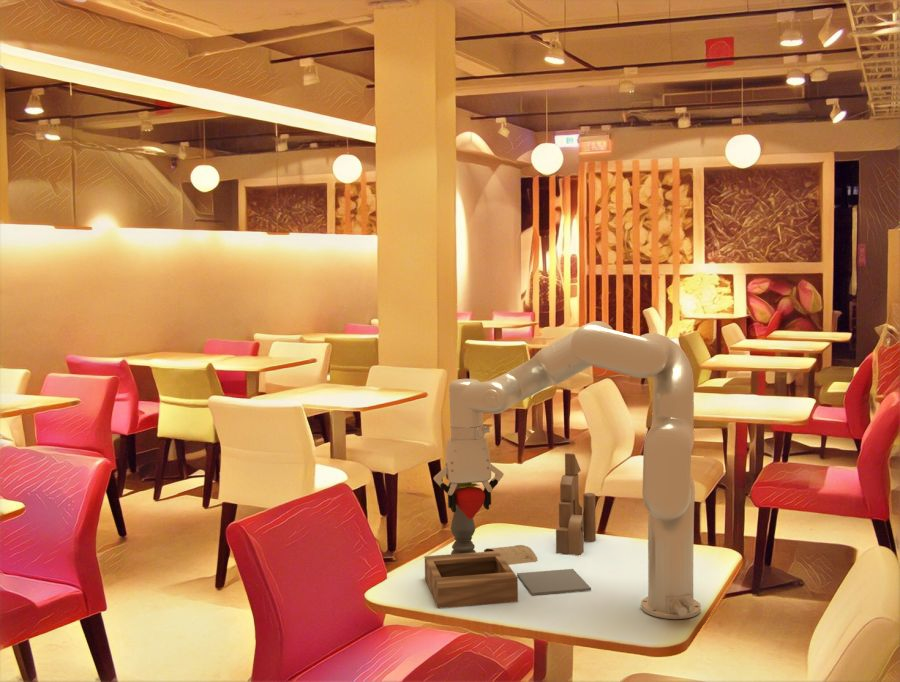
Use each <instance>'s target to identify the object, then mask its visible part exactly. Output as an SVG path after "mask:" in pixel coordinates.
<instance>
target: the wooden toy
mask: <svg viewBox="0 0 900 682" xmlns="http://www.w3.org/2000/svg"><path fill="white" fill-rule="evenodd" d="M581 471H582V470H581V467H580V464H579V462H578V459H577V457H576V454H575V453H571V452H570V453H569V452H567V453H565V454H564V474H563V475H562V476H561V479H560V484H559V487H560V489H559V491H560V493H559V494H560V497H559V499H560V502H558V527H557V528H556V529H555V553H556V554H558V553H562V554H561V555H570V554H575V555H574V556H579V555H580V556H581V555H582V554H583V553H584V552H585V551H584V548H585V547H584V544H585V543H584V541H585V542H586V541H587V542H588V543H594V542H595V541H596V539H597V538H596V536H597V533H596V528H597V527H596V524H597V523H596V518H597V517H596V494H595V493H592V492H585V493H583V495H582V496H583V498H582V499H583V500H582V501H583V503H582V504H583V505H582V506H581V505H580V500H579V492H580V491H579V490H580V489H579V473H580V472H581ZM587 542H586V543H587Z"/></svg>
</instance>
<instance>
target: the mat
mask: <svg viewBox="0 0 900 682" xmlns="http://www.w3.org/2000/svg"><path fill="white" fill-rule="evenodd" d="M516 576H517V577H518V579H519V580H520V582H521V583H522V584H523V586H524V588H526V590H527V591H528V592H529V594H530V595H531V596H541V595H553V594H566V592H568V593H576V592H575V591H580V592H586V591H585V590H591V591H592V587H591V586H590V585H589V584H588V583H587V582H586V580H584V579H583V578H582V577H581V576H580V575H579V573H578V572H577V571H576V570H575V569H574V568H566V569H565V568H564V569H555V570H554V569H553V570H541V571H540V570H539V571H527V572H517V573H516Z"/></svg>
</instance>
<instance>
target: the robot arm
mask: <svg viewBox="0 0 900 682" xmlns="http://www.w3.org/2000/svg"><path fill="white" fill-rule="evenodd" d="M591 367H595V368H599V369H602V370H605V371H606V370H607V371H611V372H614V373H618V374H622V375H625V376H630V377H634V378H638V379H640V378H641V379H649V378H652V381H653V390H652V418H651V426H650V427H649V428H650V429H649V430H648V431H647V433H646V435H645V438H644V444H643V460H642V461H643V462H642V466H643V467H642V502H643V505H644V507H645V508H646V511H648V517H647V519H648V520H647V521H648V522H647V528H648V529H647V536H648V537H647V541H648V542H647V550H648V551H647V565H648V566H647V569H648V570H647V571H648V572H647V573H648V574H647V580H648V581H647V584H648V585H647V586H648V587H647V591H648V592H647V593H648V594H647V596H646V597H644V598H643V599H641V602H640V608H641V609H642V611H643V612H645V613H646V614H648V615H650V616H653V617H655V618H659V619H660V618H661V619H667V620H684V619H689V618H693V617H696V616H698V615H699V614H700V613H701V612H702V611H701V610H702V608H701V607H702V606H701V604H700V602H699V601H698V600H696V599H694V538H695V537H694V536H695V535H694V532H695V531H694V530H695V529H694V526H695V525H694V524H695V495H696V494H695V493H696V491H695V490H696V489H695V488H696V487H695V482H694V479H693V476H692V475H691V469H692V467H691V464H692V450H693V448H694V444H695V432H694V431H695V428H694V425H695V424H694V421H695V420H694V418H695V417H694V415H695V414H694V413H695V412H694V411H695V405H694V404H695V402H694V401H695V399H694V396H695V395H694V394H695V387H694V386H695V383H694V374H693V368H692V365H691V362H690V359H689V357H688V356H687V354H686V353H685V351H684V350H683V349H682V348H681V346H680V345H678V344H677V343H676V342H675V341H673V340H671V339H670V338H669V337H666V336H665V335H662V334H660V333H652V332H649V333H644V334H641V335H640V336H639V335H637V334H636V335H635V334H632V333H627V332H622V331H618V330H615V329H613V327H612V326H611V325H609V324H608V323H606V322H604V321H599V320H594V321H591V322H588V323H586V324H583V325H581V326H580V327H578V328H577V329H576V330H574V331H571V332H570V333H569V334H567V335H565V336H563V337H562V338H559V339H558V340H556V341H555V342H552V343H551V344H549V345H547V346H545V347H543V348H541V349H540V350H539V351H537V352H536V353H535V355H533V357H531V358H530V359H528V360H526V361H525V362H523V363H521V364H520V365H517V366H516V367H514V368H512V369H510V370H509V371H507V372H505V373H503V374H501V375H499V376H497V377H495V378H493V379H489V380H487V381H480V380H478V379H475V378H461V379H458V378H457V379H454V380H452V381H450V382H449V386H448V392H449V393H448V394H449V395H448V396H449V397H448V398H449V419H450V423H449V425H450V426H449V427H450V438H448V439H447V441H446V448H445V466H444V467H443V468H442V469H441V470H440V471H439V472H438V473H437V474H435V475H434V476H433V480H434V482H435V483H436V484H437V485H438V486H439V487H440V488H441V489H442V490H443V491H444V492H445V493H446V494H447V506H448V509H450V510H451V512H452V513H454V512H456V496H455V494H454V490H455V488H456V486H457V484H464V483H475V484H478V483H481V484H482V485H483V491H484V493H485V500H484V504H483V505H482V506H483V508H484V509H485V510H490V506H491V505H492V492H493V490H494V489H495V488H496V486H497V485H498V484H499V482H500V481H501V479H502V478H503V477H504V473H503V472H502V470H500V469H499V468H497V467H496V466H495V465H493V464H492V463H491V455H490V449H489V443H488V439H487V437H486V436H485V435H486V434H487V433H490V430H491V429H490V426H485V425H484V414H490V415H492V414H493V415H498V414H501V413H503V412H505V411H507V410H508V409H510V408H511V407H514V406H516V405H517V404H519V403H520V402H522V401H524V400H527V398H530V397H532V396H533V395H535V394H537V393H539V392H540V391H541V392H542V391H543V390H544V389H546V388H547V389H548V388H550V387H554V386H557V385H559V384H561V383H563V382H565V381H566V380H568V379H571V378H572V377H574V376H575V375H578V374H579V373H581V372H583V371H585V370H587V369H590V368H591ZM492 473H494V476H493V478H492ZM444 477H445V478H446V480H448V482H449V483H448V485H447V484H446V483H445V482H444V481H443V479H444ZM491 478H492V479H491Z"/></svg>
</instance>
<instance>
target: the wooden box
mask: <svg viewBox="0 0 900 682" xmlns="http://www.w3.org/2000/svg"><path fill="white" fill-rule="evenodd" d="M424 579H425V582H426V584H427V586H428V588H429V590H431V591H430V592H431V595H432V597H433V600H434V599H435V600H434V601H435V604H436V603H437V604H436V606H437V608H438V607H448V608H457V607H459V608H460V607H468V606H469V607H470V606H481V605H493V604H505V603H506V604H507V603H518V602H519V595H518V594H519V591H518V590H519V589H518V587H519V586H518V585H519V584H518V583H519V581H518V579H519V578H518V576H517V574H516V573H515V572H514V571H513V569H512V568H511V567H510V565H508V564H507V563H506V561H505V560H504V559H503V557H502V556H501V555H500V553H499V552H498V551H494V550H492V551H478V552H477V551H476V553H462V554H449V553H448V554H438V555H425V556H424Z"/></svg>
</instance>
